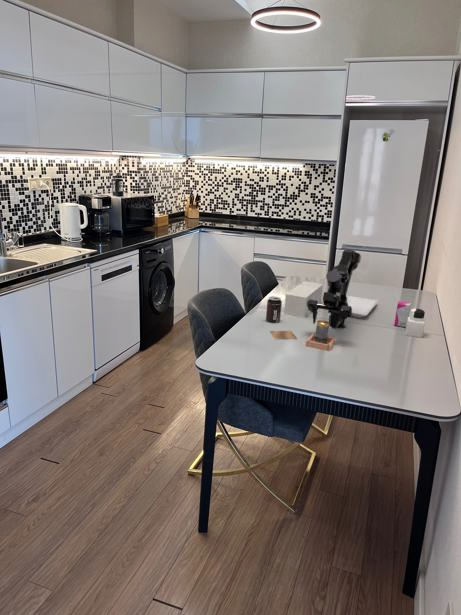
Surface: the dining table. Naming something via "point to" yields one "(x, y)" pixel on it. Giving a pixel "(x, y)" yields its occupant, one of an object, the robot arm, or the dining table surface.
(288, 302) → the long white box
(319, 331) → the battery cell
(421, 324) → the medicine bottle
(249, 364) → the dining table surface
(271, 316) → the beverage can
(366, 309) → the tray
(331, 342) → the shallow wooden box
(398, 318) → the supplement box
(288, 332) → the tester plate
